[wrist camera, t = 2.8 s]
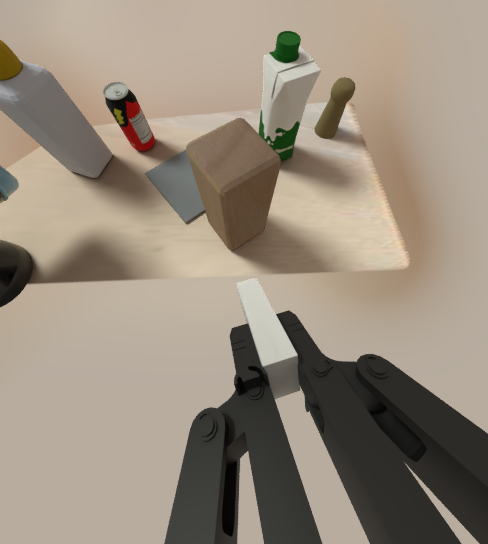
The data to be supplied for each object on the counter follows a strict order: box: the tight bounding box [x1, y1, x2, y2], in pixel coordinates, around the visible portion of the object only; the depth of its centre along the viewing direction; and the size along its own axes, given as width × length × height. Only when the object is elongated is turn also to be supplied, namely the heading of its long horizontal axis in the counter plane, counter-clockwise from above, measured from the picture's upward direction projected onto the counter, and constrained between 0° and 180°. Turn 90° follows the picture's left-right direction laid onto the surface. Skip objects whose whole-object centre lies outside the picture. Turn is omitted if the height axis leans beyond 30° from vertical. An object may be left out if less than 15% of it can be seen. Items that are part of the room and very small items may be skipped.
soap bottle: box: [0, 40, 112, 178], centre depth 35 cm, size 9×9×25 cm
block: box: [186, 118, 281, 250], centre depth 34 cm, size 10×10×20 cm
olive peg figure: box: [315, 78, 355, 139], centre depth 47 cm, size 6×6×11 cm
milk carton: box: [259, 31, 321, 161], centre depth 40 cm, size 9×9×20 cm
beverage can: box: [103, 82, 155, 151], centre depth 44 cm, size 6×6×12 cm
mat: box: [145, 150, 205, 223], centre depth 47 cm, size 18×18×1 cm
